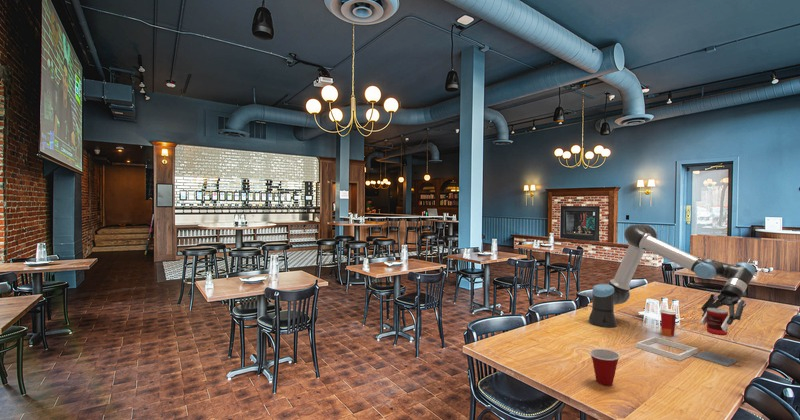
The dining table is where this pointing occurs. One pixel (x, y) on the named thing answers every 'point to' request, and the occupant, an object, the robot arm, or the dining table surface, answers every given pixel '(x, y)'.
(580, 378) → the dining table surface
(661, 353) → the corral
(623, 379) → the dining table surface
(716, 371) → the dining table surface
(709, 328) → the canned food
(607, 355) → the plastic cup
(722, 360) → the mat
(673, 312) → the paper cup
